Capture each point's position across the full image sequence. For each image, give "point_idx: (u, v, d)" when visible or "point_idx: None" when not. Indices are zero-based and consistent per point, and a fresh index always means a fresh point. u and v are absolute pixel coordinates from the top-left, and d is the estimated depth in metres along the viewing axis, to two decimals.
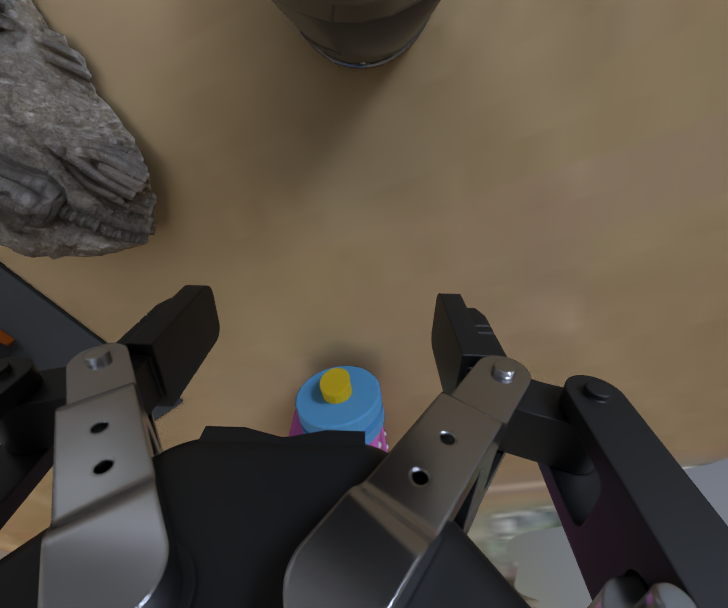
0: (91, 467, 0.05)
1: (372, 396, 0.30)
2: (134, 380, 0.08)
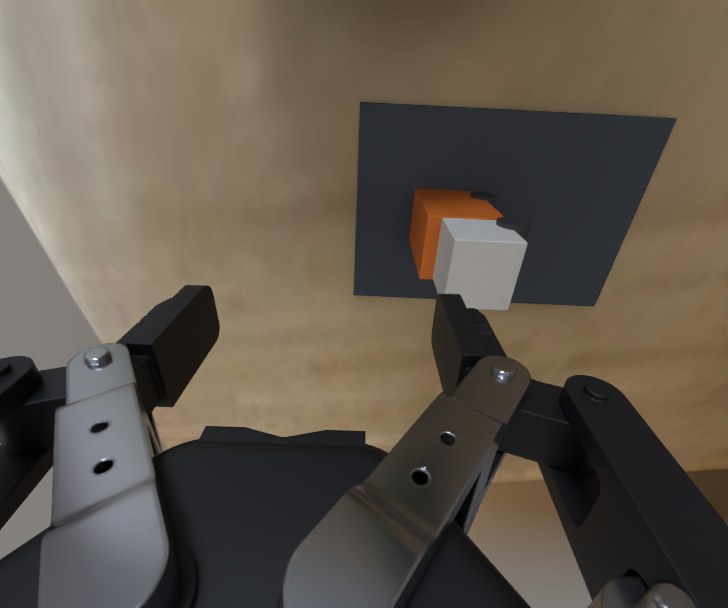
0: (91, 467, 0.05)
1: None
2: (134, 380, 0.08)
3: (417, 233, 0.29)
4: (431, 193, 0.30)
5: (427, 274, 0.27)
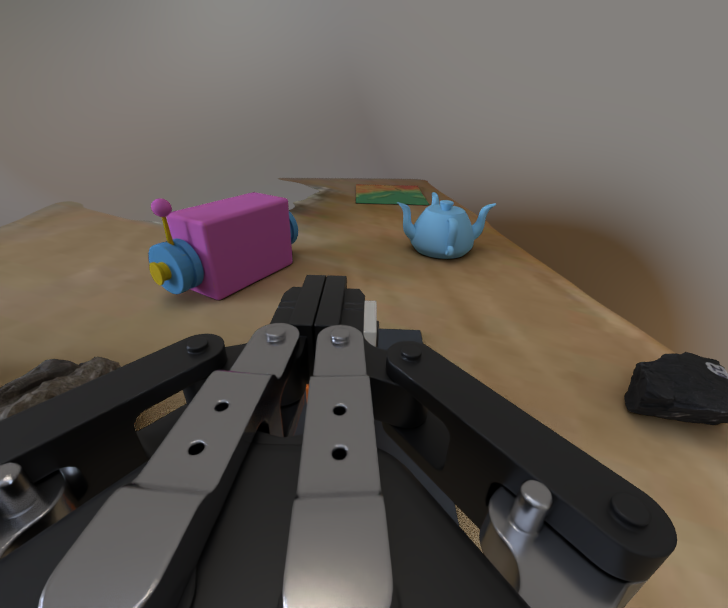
0: (190, 443, 0.06)
1: (150, 260, 0.51)
2: (282, 370, 0.08)
3: None
4: None
5: None
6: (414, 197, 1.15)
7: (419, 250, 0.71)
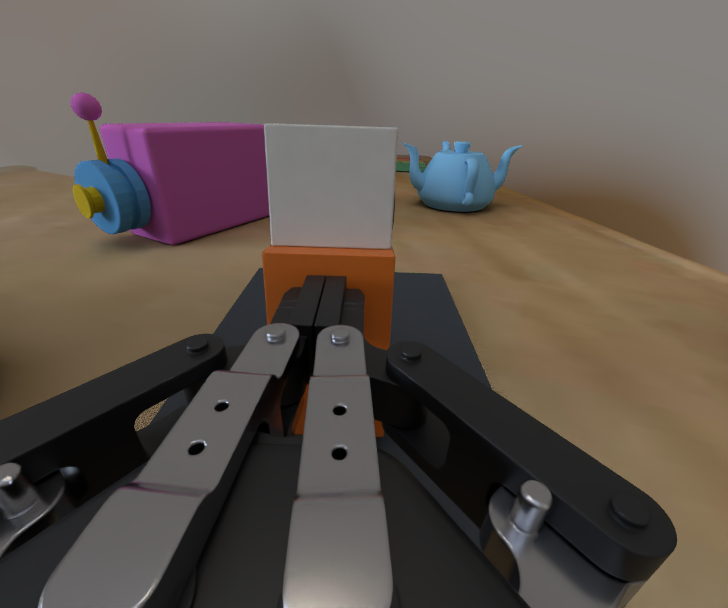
0: (190, 443, 0.06)
1: None
2: (282, 370, 0.08)
3: None
4: None
5: (383, 252, 0.14)
6: None
7: (429, 202, 0.59)
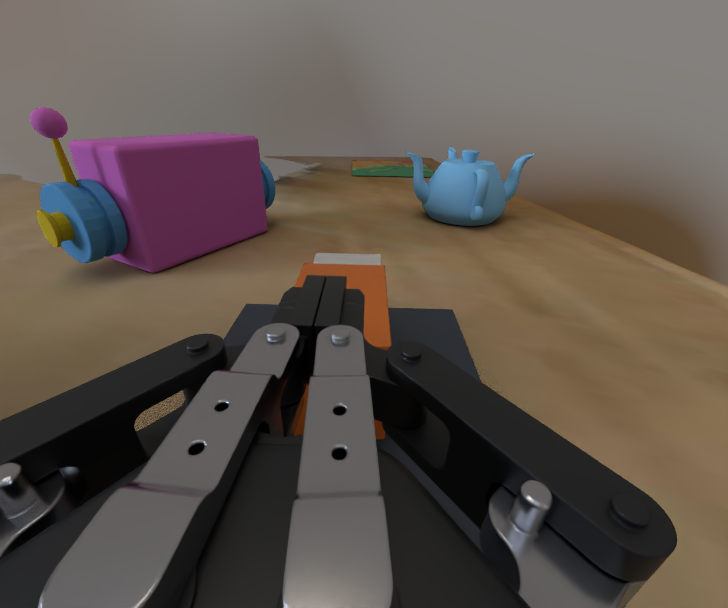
0: (190, 443, 0.06)
1: None
2: (282, 370, 0.08)
3: None
4: None
5: None
6: None
7: (435, 215, 0.55)
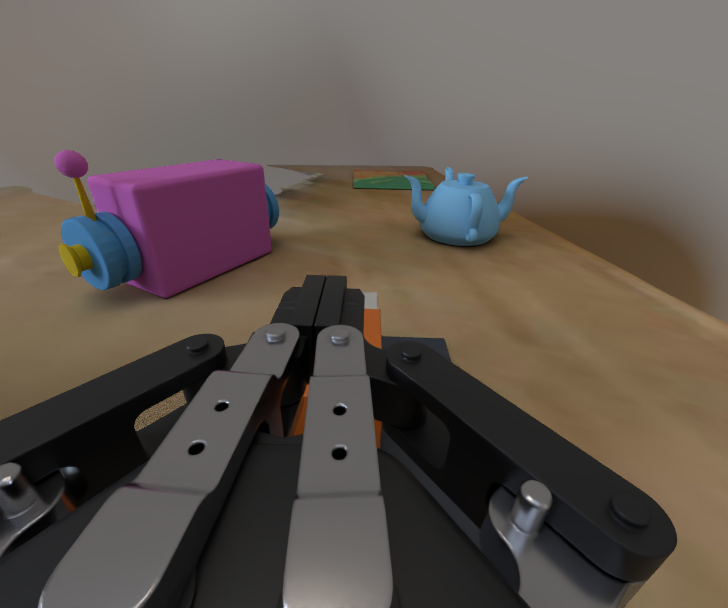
0: (190, 443, 0.06)
1: (65, 243, 0.36)
2: (282, 370, 0.08)
3: None
4: None
5: None
6: (420, 182, 1.01)
7: (432, 236, 0.57)
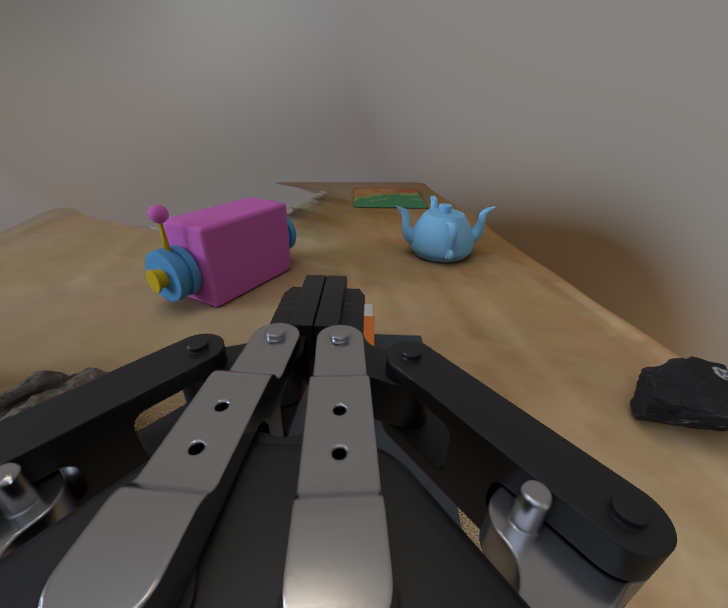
0: (190, 443, 0.06)
1: (147, 267, 0.50)
2: (282, 370, 0.08)
3: None
4: None
5: None
6: (413, 200, 1.15)
7: (418, 254, 0.71)
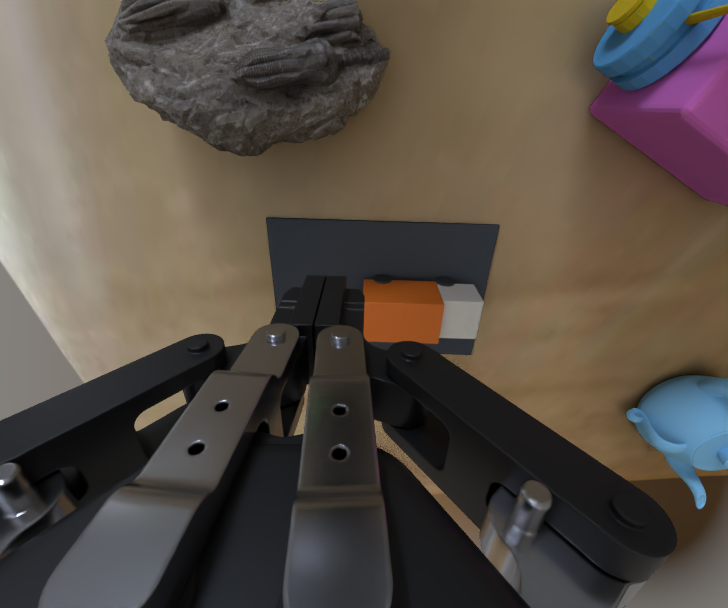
0: (190, 443, 0.06)
1: None
2: (282, 370, 0.08)
3: (407, 324, 0.38)
4: (379, 297, 0.38)
5: None
6: None
7: (670, 381, 0.49)
